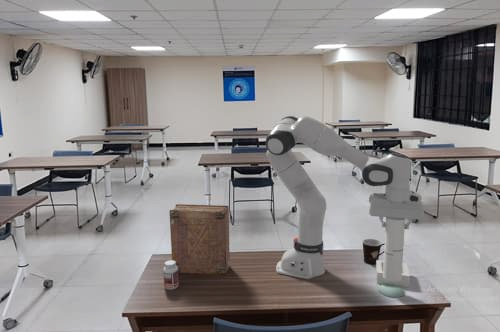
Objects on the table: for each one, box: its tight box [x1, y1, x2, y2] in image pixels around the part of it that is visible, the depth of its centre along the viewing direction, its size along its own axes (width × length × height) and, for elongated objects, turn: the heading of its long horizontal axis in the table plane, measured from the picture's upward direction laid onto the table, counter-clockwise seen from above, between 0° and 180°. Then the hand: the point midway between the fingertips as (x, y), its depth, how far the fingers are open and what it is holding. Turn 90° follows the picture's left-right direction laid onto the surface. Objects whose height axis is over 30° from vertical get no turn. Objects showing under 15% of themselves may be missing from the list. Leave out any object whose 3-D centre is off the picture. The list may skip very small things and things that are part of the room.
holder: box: [375, 259, 411, 288], centre depth 174 cm, size 13×13×5 cm
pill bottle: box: [162, 259, 180, 290], centre depth 168 cm, size 6×6×11 cm
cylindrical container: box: [383, 217, 406, 281], centre depth 160 cm, size 7×7×25 cm
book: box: [169, 203, 231, 276], centre depth 182 cm, size 25×9×30 cm, turn 82°
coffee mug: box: [362, 238, 385, 266], centre depth 190 cm, size 12×9×10 cm
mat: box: [378, 284, 405, 298], centre depth 163 cm, size 10×10×1 cm
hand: (394, 227), depth 158 cm, fingers closed on cylindrical container, 7 cm apart
